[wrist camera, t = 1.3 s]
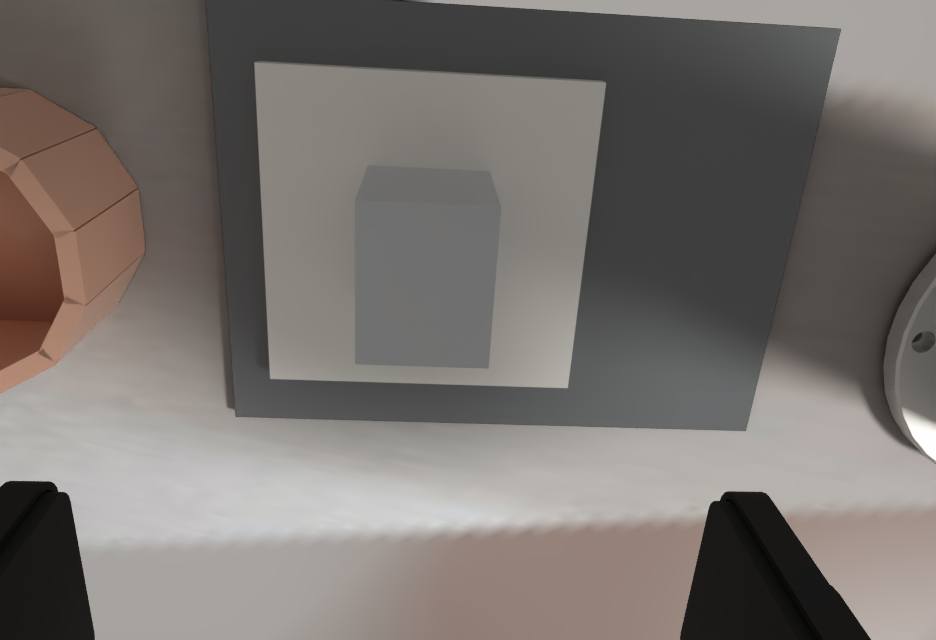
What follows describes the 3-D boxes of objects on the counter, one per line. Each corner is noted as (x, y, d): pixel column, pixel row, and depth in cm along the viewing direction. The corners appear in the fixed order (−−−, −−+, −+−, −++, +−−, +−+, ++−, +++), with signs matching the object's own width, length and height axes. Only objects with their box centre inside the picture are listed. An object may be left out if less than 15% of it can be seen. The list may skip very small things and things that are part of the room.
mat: (835, 28, 25) (841, 28, 24) (742, 425, 31) (746, 430, 30) (208, -11, 23) (204, -12, 23) (238, 411, 29) (235, 416, 29)
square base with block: (602, 80, 25) (642, 102, 20) (565, 380, 29) (591, 455, 24) (258, 60, 24) (216, 77, 19) (273, 371, 28) (241, 446, 24)
